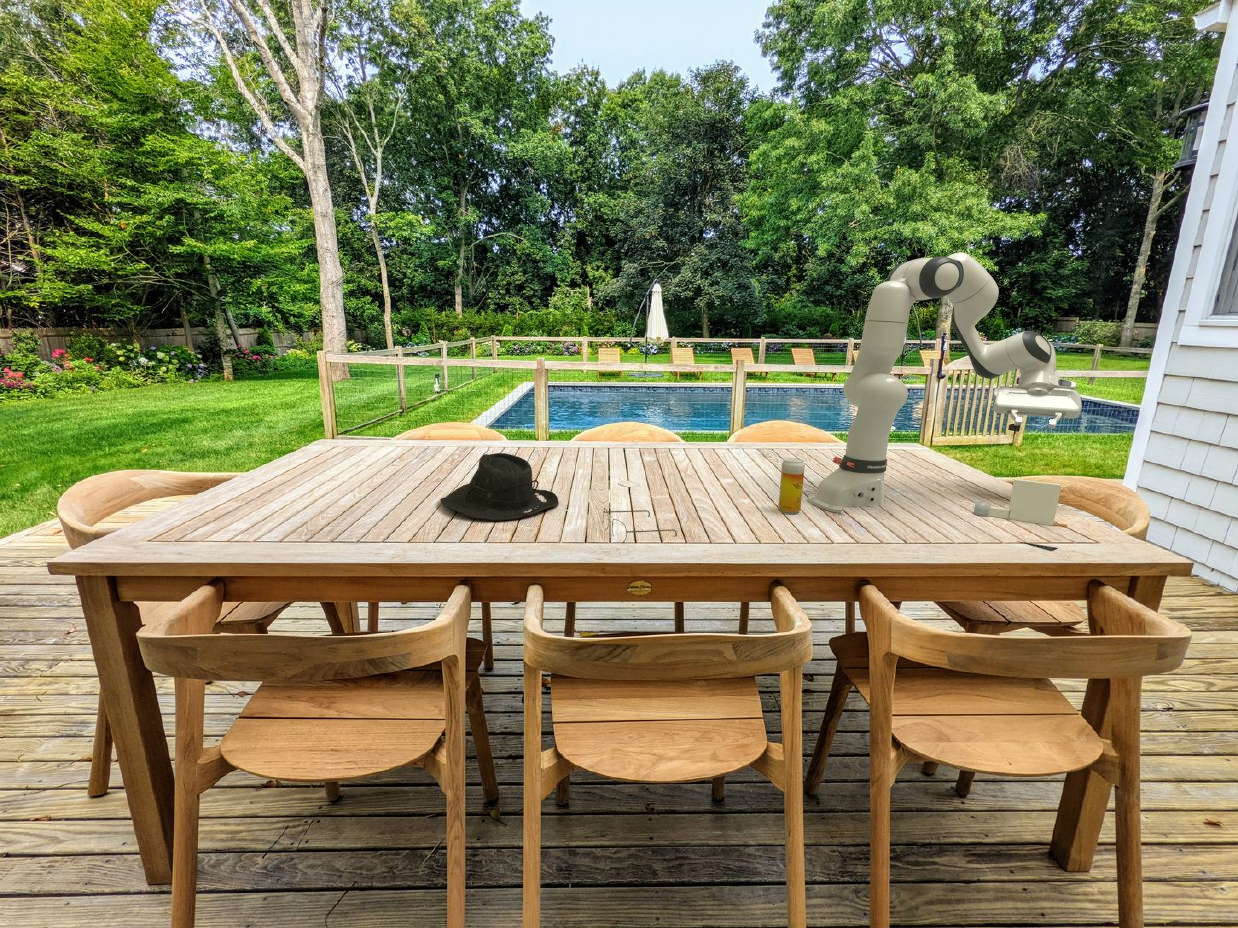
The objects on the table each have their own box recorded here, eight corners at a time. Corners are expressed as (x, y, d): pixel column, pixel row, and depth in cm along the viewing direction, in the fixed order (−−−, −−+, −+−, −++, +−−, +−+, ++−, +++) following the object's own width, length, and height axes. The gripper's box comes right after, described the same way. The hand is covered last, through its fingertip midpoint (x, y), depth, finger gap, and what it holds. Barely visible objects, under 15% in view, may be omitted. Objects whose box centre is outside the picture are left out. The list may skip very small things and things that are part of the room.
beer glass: (801, 515, 155) (806, 463, 152) (778, 513, 156) (783, 461, 153) (798, 509, 161) (803, 458, 157) (777, 507, 162) (781, 457, 158)
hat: (526, 482, 185) (525, 440, 181) (576, 512, 156) (576, 462, 152) (428, 495, 168) (425, 449, 165) (463, 531, 139) (460, 476, 136)
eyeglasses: (598, 523, 146) (598, 505, 145) (649, 517, 152) (650, 500, 151) (621, 545, 132) (621, 525, 131) (677, 538, 138) (677, 518, 136)
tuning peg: (973, 514, 154) (980, 476, 152) (973, 511, 157) (979, 473, 155) (1068, 528, 144) (1076, 488, 142) (1065, 524, 147) (1074, 484, 145)
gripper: (996, 378, 165) (992, 415, 159) (1083, 382, 155) (1083, 422, 149) (992, 392, 170) (989, 428, 164) (1077, 397, 160) (1076, 435, 154)
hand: (1034, 425), depth 156 cm, fingers open, 6 cm apart
